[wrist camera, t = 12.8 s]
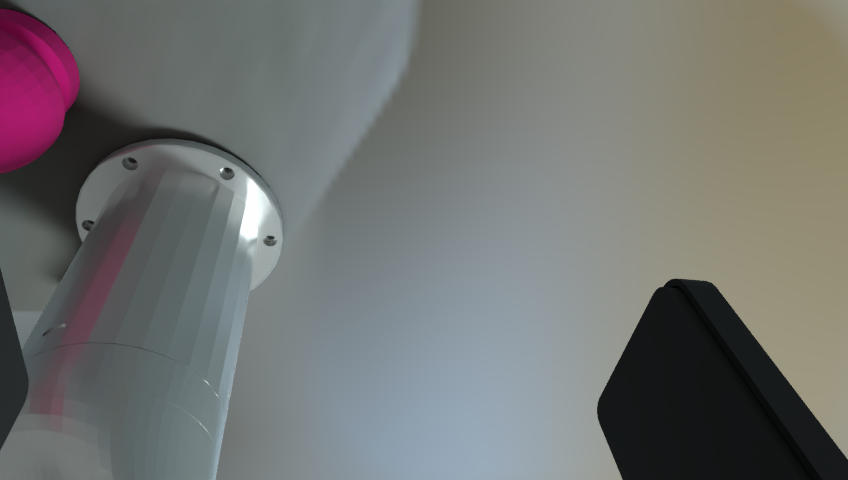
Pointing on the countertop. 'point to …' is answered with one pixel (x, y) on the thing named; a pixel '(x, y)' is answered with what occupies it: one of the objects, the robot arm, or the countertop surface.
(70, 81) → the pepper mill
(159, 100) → the countertop surface
